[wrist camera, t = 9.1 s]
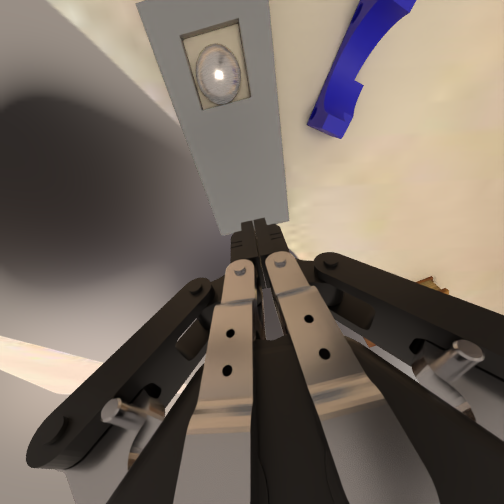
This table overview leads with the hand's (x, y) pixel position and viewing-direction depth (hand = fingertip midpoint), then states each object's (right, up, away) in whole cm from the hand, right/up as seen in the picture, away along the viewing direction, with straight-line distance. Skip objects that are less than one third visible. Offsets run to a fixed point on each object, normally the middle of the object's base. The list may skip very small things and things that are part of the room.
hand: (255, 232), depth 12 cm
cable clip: (+12, +21, +13) cm, 28 cm away
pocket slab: (-3, +15, +16) cm, 22 cm away
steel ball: (-4, +19, +10) cm, 21 cm away
